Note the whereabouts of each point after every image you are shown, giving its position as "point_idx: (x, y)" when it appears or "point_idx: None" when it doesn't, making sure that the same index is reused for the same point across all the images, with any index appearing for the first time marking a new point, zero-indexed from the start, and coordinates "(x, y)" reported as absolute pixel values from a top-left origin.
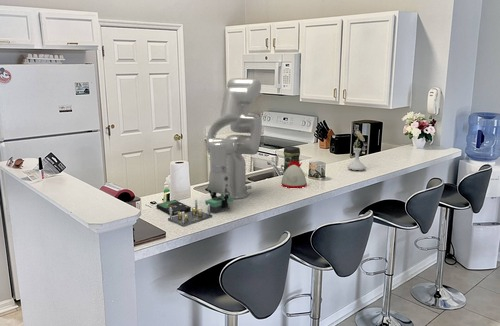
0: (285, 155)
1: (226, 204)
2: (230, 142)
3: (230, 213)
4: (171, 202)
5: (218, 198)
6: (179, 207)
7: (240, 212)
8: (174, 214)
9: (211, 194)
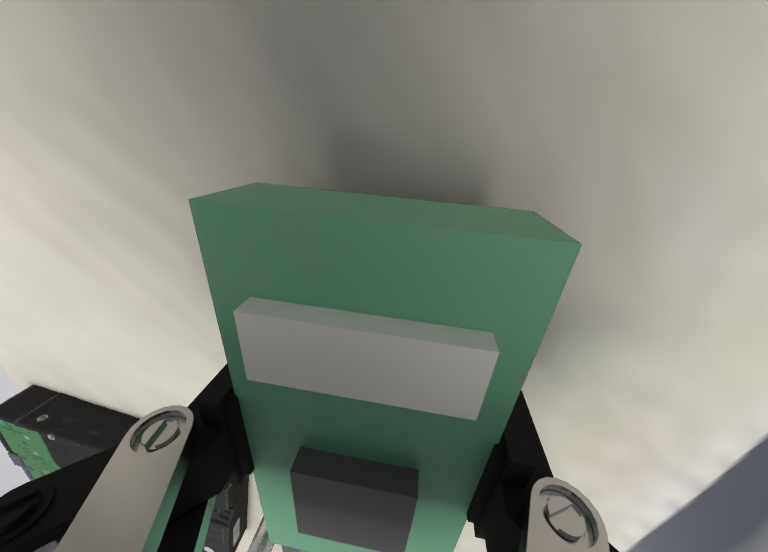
0: None
1: (520, 414)
2: None
3: (576, 370)
4: (43, 459)
5: (379, 517)
6: None
7: (702, 289)
8: (243, 525)
9: (178, 529)
